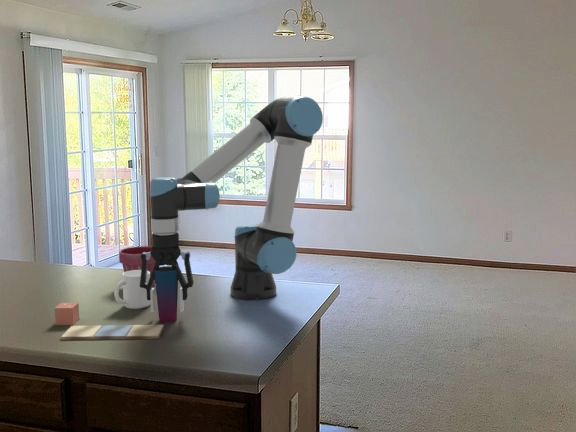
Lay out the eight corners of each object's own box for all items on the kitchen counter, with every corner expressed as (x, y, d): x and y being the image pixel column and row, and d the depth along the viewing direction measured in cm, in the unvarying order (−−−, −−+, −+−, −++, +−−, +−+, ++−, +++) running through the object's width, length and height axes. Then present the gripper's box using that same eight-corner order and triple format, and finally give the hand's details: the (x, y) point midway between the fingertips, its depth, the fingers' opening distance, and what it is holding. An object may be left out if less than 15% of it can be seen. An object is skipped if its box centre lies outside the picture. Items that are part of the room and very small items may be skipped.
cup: (156, 324, 173) (155, 272, 170) (155, 317, 179) (153, 267, 177) (181, 322, 174) (179, 270, 172) (178, 315, 181) (177, 265, 179)
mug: (122, 314, 182) (121, 280, 180) (107, 308, 188) (106, 275, 186) (156, 305, 191) (155, 272, 189) (141, 299, 196) (139, 268, 195)
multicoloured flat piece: (164, 327, 170) (164, 324, 170) (158, 338, 161) (158, 335, 161) (71, 328, 169) (71, 325, 169) (60, 339, 161) (60, 336, 160)
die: (79, 319, 177) (78, 302, 177) (73, 325, 172) (72, 307, 172) (61, 319, 177) (60, 302, 176) (55, 325, 172) (54, 307, 172)
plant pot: (127, 280, 220) (126, 245, 218) (166, 280, 220) (165, 245, 218) (114, 291, 206) (113, 254, 204) (156, 291, 205) (155, 254, 203)
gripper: (202, 229, 177) (204, 306, 180) (131, 230, 176) (134, 307, 180) (200, 234, 169) (202, 314, 173) (125, 235, 169) (128, 315, 172)
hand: (167, 310), depth 176 cm, fingers open, 8 cm apart
